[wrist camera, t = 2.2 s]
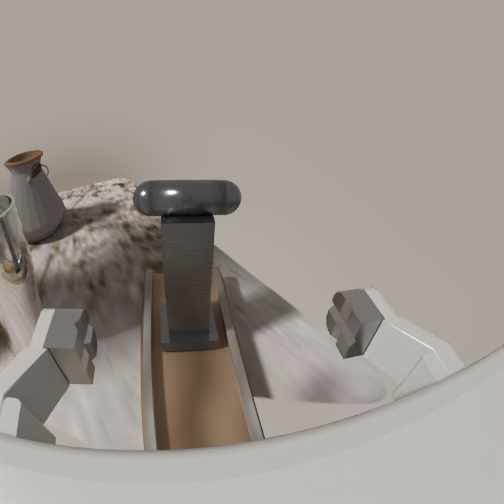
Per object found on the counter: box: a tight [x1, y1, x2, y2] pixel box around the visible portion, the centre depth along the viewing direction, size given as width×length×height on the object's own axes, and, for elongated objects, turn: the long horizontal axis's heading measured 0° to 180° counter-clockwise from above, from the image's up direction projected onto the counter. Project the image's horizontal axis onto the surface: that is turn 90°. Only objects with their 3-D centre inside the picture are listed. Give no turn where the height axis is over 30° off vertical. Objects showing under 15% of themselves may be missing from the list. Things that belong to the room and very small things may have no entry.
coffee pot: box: [4, 150, 65, 243], centre depth 33 cm, size 21×12×15 cm, turn 49°
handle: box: [133, 180, 241, 352], centre depth 26 cm, size 7×12×14 cm, turn 13°
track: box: [141, 267, 265, 450], centre depth 25 cm, size 9×24×2 cm, turn 13°
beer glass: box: [0, 193, 43, 357], centre depth 20 cm, size 7×7×15 cm
